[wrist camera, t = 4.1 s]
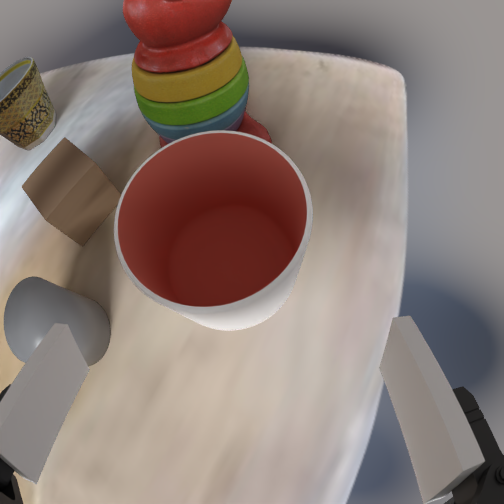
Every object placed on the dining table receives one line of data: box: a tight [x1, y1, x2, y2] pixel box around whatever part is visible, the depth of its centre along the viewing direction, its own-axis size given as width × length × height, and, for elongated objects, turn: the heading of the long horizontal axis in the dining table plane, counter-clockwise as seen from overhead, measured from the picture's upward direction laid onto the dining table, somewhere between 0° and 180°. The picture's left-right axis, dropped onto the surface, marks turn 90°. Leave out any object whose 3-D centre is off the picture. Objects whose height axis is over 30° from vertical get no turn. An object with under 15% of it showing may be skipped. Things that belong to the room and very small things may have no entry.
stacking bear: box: [123, 0, 272, 148], centre depth 20 cm, size 11×10×18 cm
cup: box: [114, 130, 313, 330], centre depth 19 cm, size 10×10×10 cm
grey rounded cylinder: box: [4, 277, 111, 366], centre depth 19 cm, size 6×6×7 cm
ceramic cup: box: [0, 57, 56, 150], centre depth 27 cm, size 13×10×10 cm
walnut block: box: [22, 137, 121, 246], centre depth 24 cm, size 6×6×6 cm
